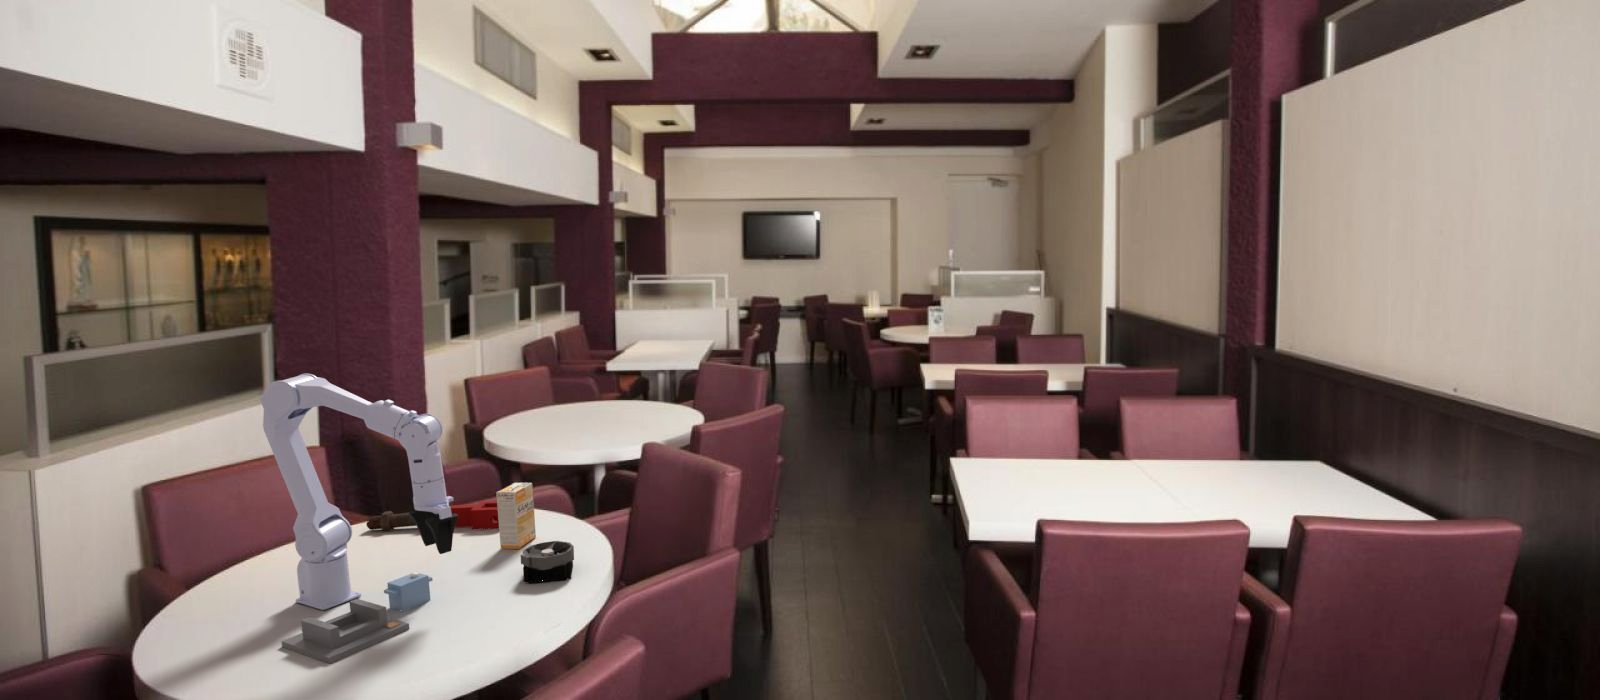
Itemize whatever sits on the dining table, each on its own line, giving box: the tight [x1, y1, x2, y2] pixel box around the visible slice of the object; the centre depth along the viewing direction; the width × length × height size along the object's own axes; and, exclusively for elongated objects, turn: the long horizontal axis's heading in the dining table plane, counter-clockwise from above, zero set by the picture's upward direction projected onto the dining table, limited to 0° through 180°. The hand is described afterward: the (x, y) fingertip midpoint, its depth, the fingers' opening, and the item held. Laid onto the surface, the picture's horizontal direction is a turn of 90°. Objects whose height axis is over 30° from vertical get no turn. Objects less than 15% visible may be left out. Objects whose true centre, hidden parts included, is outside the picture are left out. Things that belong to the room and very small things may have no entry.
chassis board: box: [280, 598, 410, 664], centre depth 163 cm, size 14×15×4 cm
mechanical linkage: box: [449, 500, 499, 531], centre depth 225 cm, size 16×7×5 cm, turn 90°
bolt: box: [366, 510, 417, 533], centre depth 224 cm, size 6×5×15 cm
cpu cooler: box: [520, 540, 575, 584], centre depth 190 cm, size 10×6×10 cm
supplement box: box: [495, 482, 537, 550], centre depth 210 cm, size 8×5×13 cm, turn 168°
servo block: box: [383, 571, 434, 612], centre depth 178 cm, size 4×8×6 cm, turn 149°
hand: (438, 548), depth 178 cm, fingers open, 7 cm apart
